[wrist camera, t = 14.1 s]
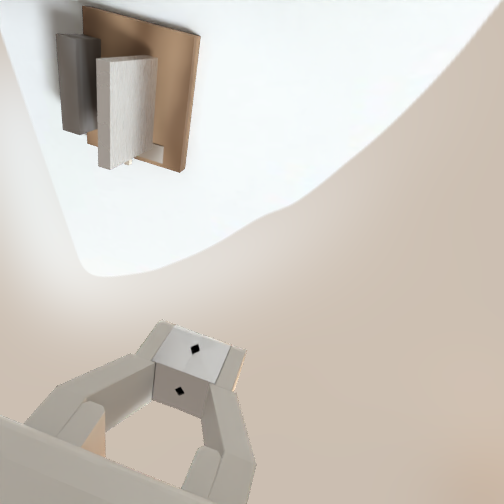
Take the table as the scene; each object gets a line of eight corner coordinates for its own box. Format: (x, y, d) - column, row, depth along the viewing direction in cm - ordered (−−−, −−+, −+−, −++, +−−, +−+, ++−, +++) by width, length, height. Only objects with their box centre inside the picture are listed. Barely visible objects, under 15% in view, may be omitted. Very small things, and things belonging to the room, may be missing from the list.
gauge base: (200, 36, 36) (176, 36, 31) (184, 168, 43) (164, 184, 39) (91, 6, 37) (53, 2, 32) (95, 140, 45) (64, 152, 40)
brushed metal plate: (163, 57, 36) (109, 62, 28) (155, 170, 42) (110, 199, 35) (116, 44, 36) (50, 45, 29) (115, 157, 43) (62, 183, 35)
